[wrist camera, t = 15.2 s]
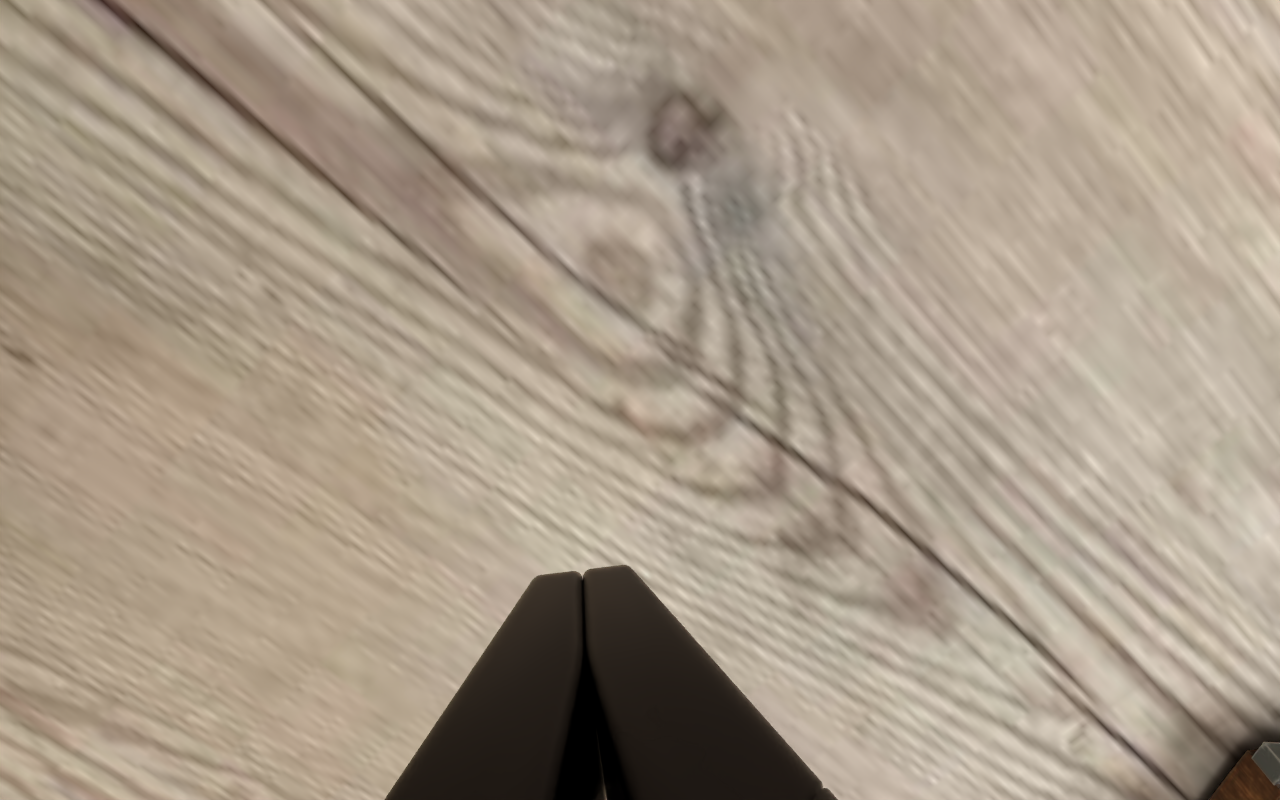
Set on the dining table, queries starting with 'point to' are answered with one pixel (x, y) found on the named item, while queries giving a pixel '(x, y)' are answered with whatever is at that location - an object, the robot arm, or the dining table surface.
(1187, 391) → the dining table surface
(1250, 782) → the handgun
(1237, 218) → the dining table surface
